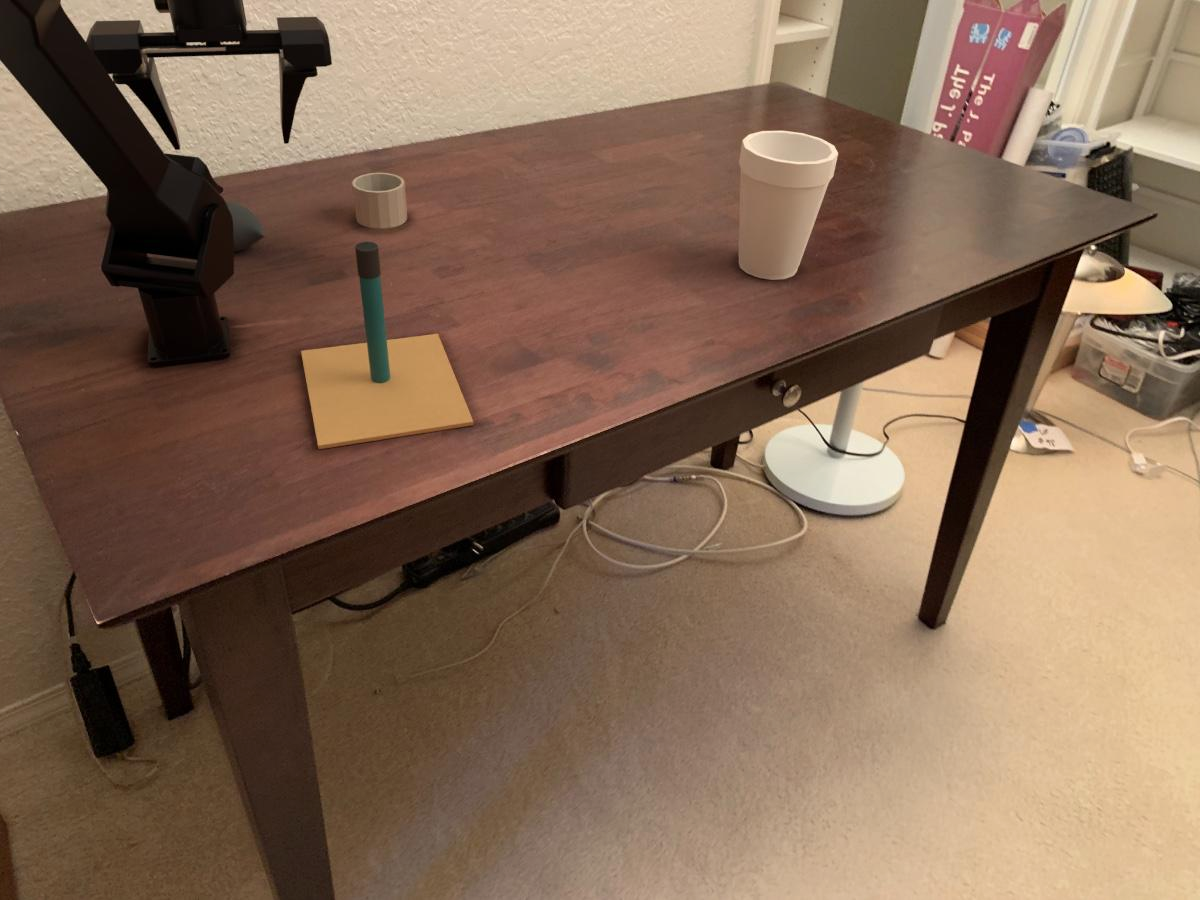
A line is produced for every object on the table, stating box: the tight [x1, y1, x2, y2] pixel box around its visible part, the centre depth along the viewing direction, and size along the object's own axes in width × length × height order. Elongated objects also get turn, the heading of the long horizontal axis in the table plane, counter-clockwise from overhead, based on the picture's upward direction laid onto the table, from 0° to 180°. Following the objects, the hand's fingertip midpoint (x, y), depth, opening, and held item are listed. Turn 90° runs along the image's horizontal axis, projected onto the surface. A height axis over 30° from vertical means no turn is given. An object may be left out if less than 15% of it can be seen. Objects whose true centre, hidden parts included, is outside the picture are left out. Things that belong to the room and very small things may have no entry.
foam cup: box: [738, 130, 839, 281], centre depth 95 cm, size 10×9×13 cm
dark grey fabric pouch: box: [225, 201, 266, 253], centre depth 94 cm, size 20×5×5 cm, turn 77°
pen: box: [354, 241, 390, 383], centre depth 73 cm, size 2×2×12 cm
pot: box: [351, 172, 408, 230], centre depth 101 cm, size 6×6×4 cm
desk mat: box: [300, 333, 474, 450], centre depth 76 cm, size 14×12×1 cm
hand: (232, 145), depth 82 cm, fingers open, 9 cm apart
